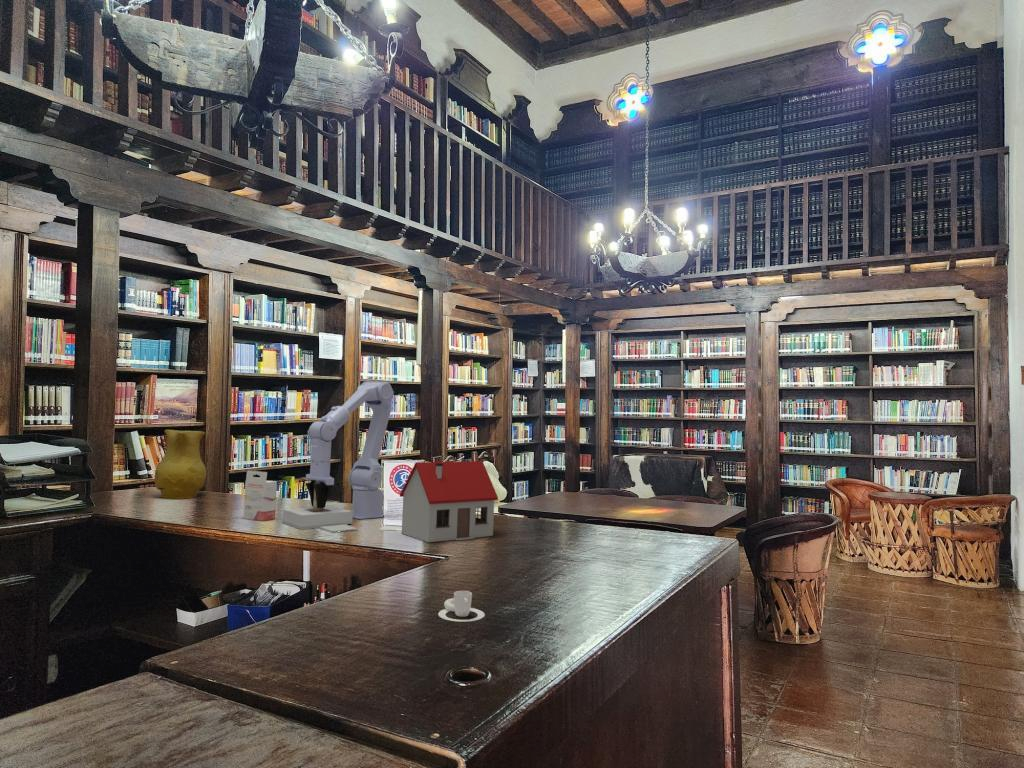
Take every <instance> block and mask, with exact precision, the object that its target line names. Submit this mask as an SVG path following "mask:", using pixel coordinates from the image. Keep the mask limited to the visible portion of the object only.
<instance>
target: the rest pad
mask: <svg viewBox="0 0 1024 768" xmlns="http://www.w3.org/2000/svg"><path fill="white" fill-rule="evenodd" d="M322 529H323V530H322ZM320 530H322V531H325V530H326V532H328V531H330V532H329V533H331V532H337V533H339V532H338V531H346V530H356V531H359V527H358V528H357V527H354V526H352V525H345V524H344V525H333V526H323V527H320ZM346 532H347V531H346Z"/></svg>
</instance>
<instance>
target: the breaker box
mask: <svg viewBox="0 0 1024 768" xmlns="http://www.w3.org/2000/svg"><path fill="white" fill-rule="evenodd" d="M281 523H282V524H285V525H288V526H290V527H293V528H296V529H299V530H310V529H312V528H313V529H319V528H320V527H323V526H333V525H344V524H345V525H348V524H352V525H353V511H352V510H349V509H346V508H343V507H342V508H341V507H338V506H334V505H327V506H326V505H325V508H324V510H323V512H313V506H312V507H300V508H296V507H295V508H285V509H283V508H282V522H281ZM348 526H349V525H348Z"/></svg>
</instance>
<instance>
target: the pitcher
mask: <svg viewBox="0 0 1024 768" xmlns="http://www.w3.org/2000/svg"><path fill="white" fill-rule="evenodd" d="M164 433H165V435H166V439H167V444H166V450H165V453H164V455H163V458H162V459H161V460H160V462H159V463H158V464H157V466H156V468H155V471H154V479H153V480H154V484H155V485H154V486H155V488H156V489H157V490H158V491H160V493H161V495H160V496H159V498H164V499H168V500H169V499H170V500H183V499H193V498H197V497H198V494H197V493H198V491H200V490H201V489H202V488H203V487H204V485H206V484H205V481H206V479H207V468H206V466H205V463H204V462H203V460H202V458H201V453H200V447H201V446H200V445H201V444H200V443H201V442H200V441H202V440H201V439H202V438H203V436H205V435H206V432H205V431H201V430H176V429H175V430H174V429H165V430H164Z"/></svg>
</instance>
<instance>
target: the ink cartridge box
mask: <svg viewBox="0 0 1024 768" xmlns="http://www.w3.org/2000/svg"><path fill="white" fill-rule="evenodd" d="M256 475H257V476H259V477H256ZM245 476H246V478H245V484H244V486H245V487H244V503H243V504H244V505H243V519H244V520H250V521H251V520H252V521H253V520H254V521H259V522H260V521H261V522H265V521H271V520H275V519H276V510H277V509H276V508H277V507H276V506H277V490H278V489H277V487H278V484H277V483H278V481H277V480H275V481H274V480H267V477H268V472H267V471H257V470H256V471H255V470H247V471H246V475H245Z"/></svg>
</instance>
